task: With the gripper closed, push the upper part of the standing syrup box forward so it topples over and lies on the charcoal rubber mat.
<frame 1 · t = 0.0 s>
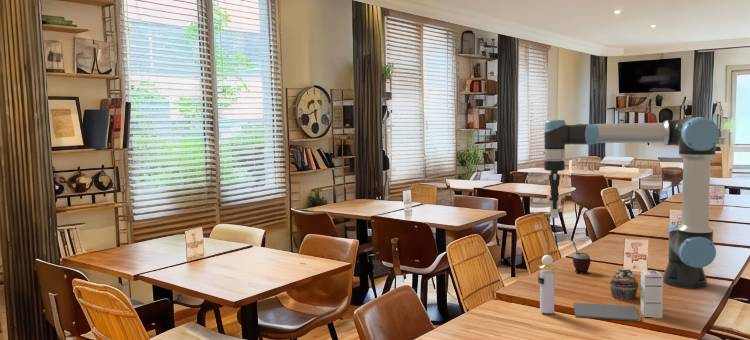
hand: (554, 214, 230), 28 cm above the table, fingers open, 13 cm apart
topple mat: (605, 312, 199), on the table
syrup box: (651, 316, 195), on the table
mate gourd: (580, 273, 250), on the table
perfume bottle: (547, 313, 200), on the table
cupcake: (623, 298, 215), on the table
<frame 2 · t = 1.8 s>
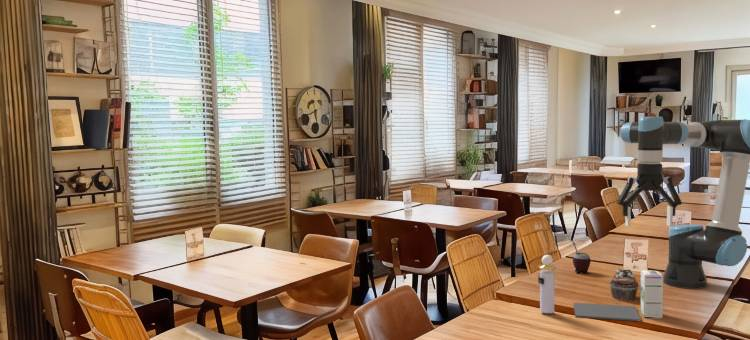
hand: (648, 225, 200), 29 cm above the table, fingers open, 13 cm apart
nothing on the table moved.
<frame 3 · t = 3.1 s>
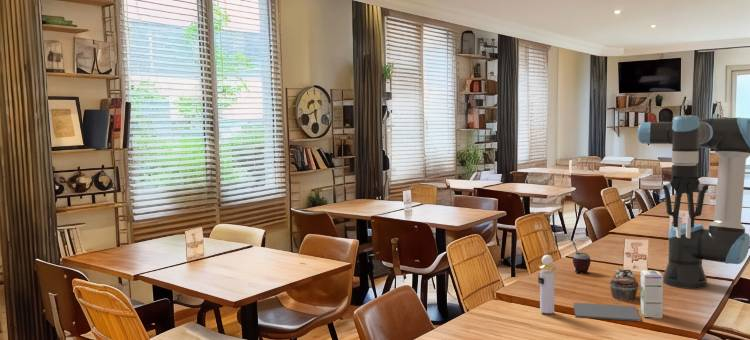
hand: (683, 237, 191), 26 cm above the table, fingers open, 2 cm apart
nothing on the table moved.
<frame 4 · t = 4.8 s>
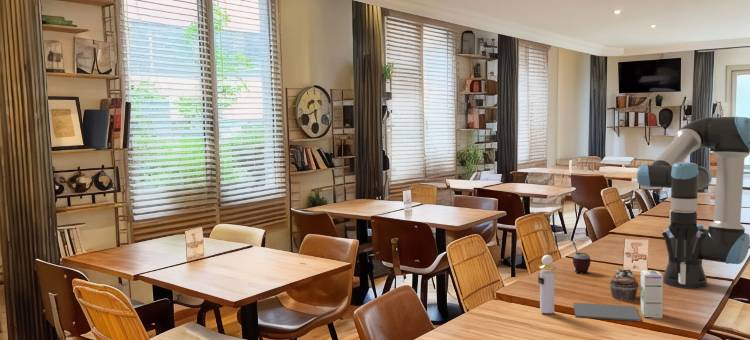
hand: (681, 282, 192), 11 cm above the table, fingers closed
nothing on the table moved.
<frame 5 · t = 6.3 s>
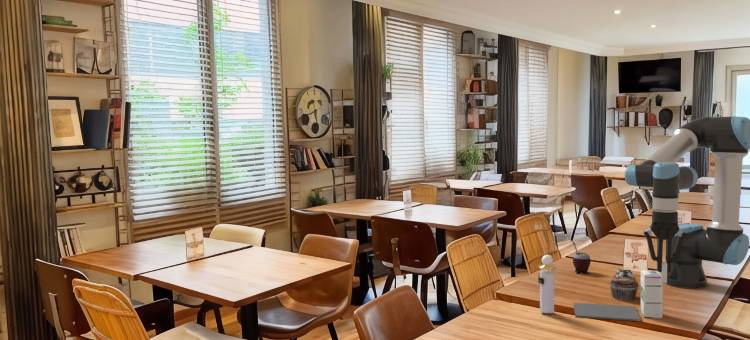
hand: (663, 281, 193), 11 cm above the table, fingers closed
syrup box: (651, 316, 195), on the table, touching gripper
everything else where it was.
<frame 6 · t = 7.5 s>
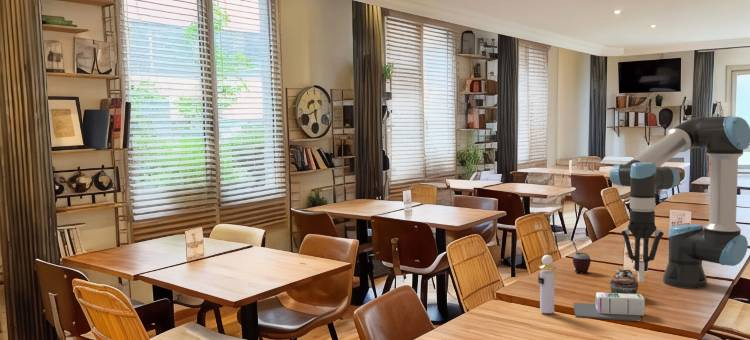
hand: (640, 280, 195), 12 cm above the table, fingers closed
syrup box: (643, 305, 196), point 3 cm above the table, touching topple mat
everything else where it was.
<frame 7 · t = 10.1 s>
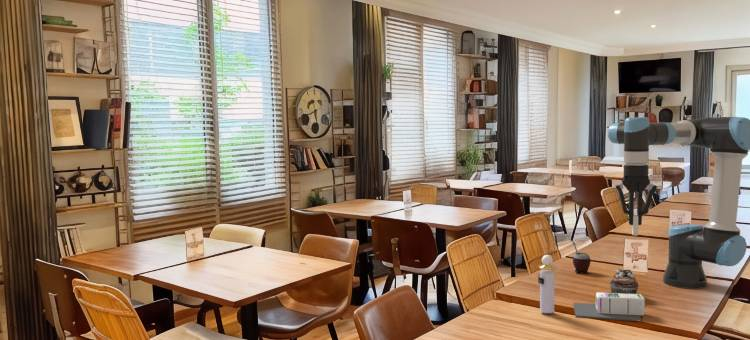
hand: (634, 234, 197), 26 cm above the table, fingers closed
nothing on the table moved.
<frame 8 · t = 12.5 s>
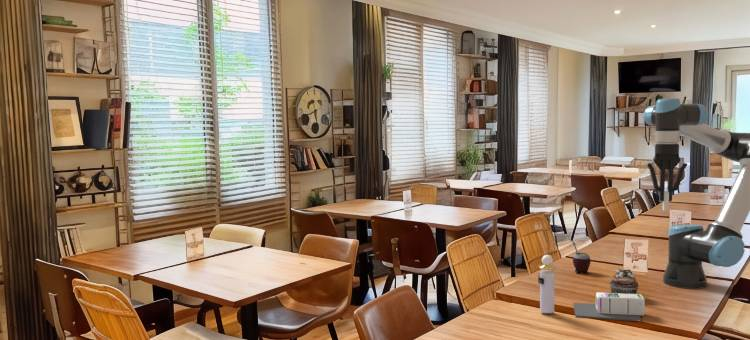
hand: (665, 210, 208), 32 cm above the table, fingers closed
nothing on the table moved.
at the end: syrup box tilted 89°; syrup box touching topple mat; syrup box inside the target area (6.6 cm from its centre), point 3.4 cm above the table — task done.
